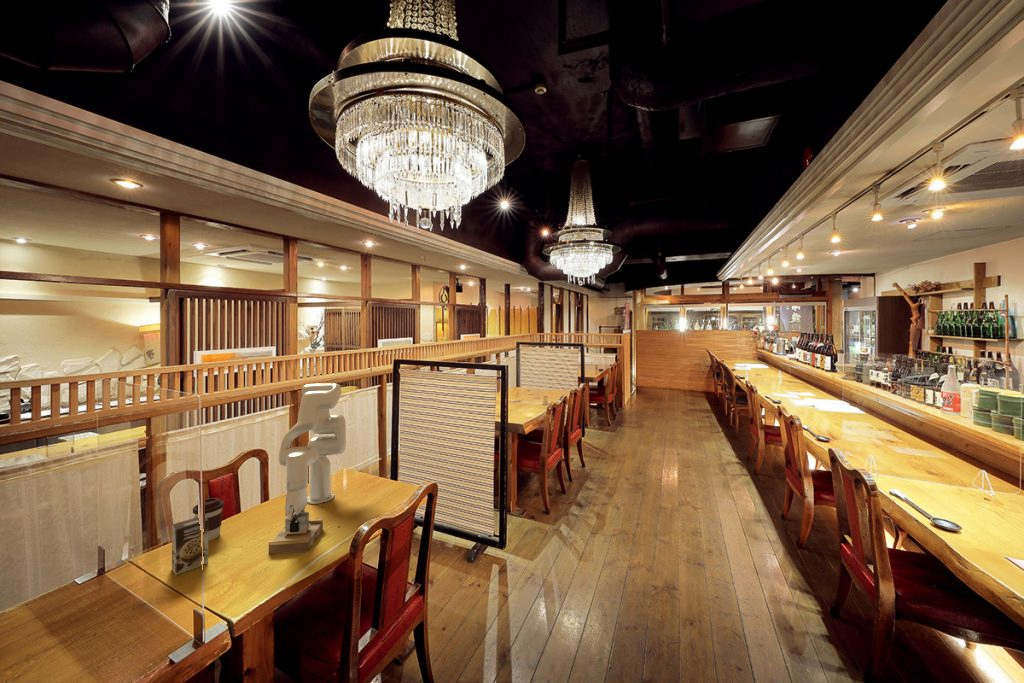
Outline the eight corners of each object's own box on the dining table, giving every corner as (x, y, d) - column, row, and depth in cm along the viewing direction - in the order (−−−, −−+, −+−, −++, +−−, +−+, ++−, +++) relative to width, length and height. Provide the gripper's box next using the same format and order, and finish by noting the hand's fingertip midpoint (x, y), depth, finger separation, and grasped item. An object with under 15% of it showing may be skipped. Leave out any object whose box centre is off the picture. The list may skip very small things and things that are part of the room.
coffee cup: (210, 544, 147) (210, 506, 147) (186, 544, 147) (185, 506, 147) (230, 531, 157) (229, 496, 157) (207, 530, 157) (206, 495, 157)
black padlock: (289, 528, 151) (289, 513, 151) (310, 526, 153) (310, 511, 152) (284, 534, 147) (283, 518, 147) (305, 533, 148) (305, 517, 148)
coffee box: (175, 576, 127) (175, 529, 127) (171, 569, 131) (170, 524, 131) (209, 563, 135) (208, 519, 134) (203, 557, 139) (203, 514, 138)
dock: (287, 532, 156) (287, 521, 156) (322, 529, 158) (322, 518, 158) (268, 554, 141) (268, 542, 140) (308, 551, 143) (307, 539, 143)
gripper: (296, 476, 157) (296, 518, 157) (277, 493, 140) (277, 540, 141) (315, 475, 158) (315, 517, 159) (298, 491, 141) (298, 539, 142)
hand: (297, 527), depth 150 cm, fingers closed on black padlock, 4 cm apart
